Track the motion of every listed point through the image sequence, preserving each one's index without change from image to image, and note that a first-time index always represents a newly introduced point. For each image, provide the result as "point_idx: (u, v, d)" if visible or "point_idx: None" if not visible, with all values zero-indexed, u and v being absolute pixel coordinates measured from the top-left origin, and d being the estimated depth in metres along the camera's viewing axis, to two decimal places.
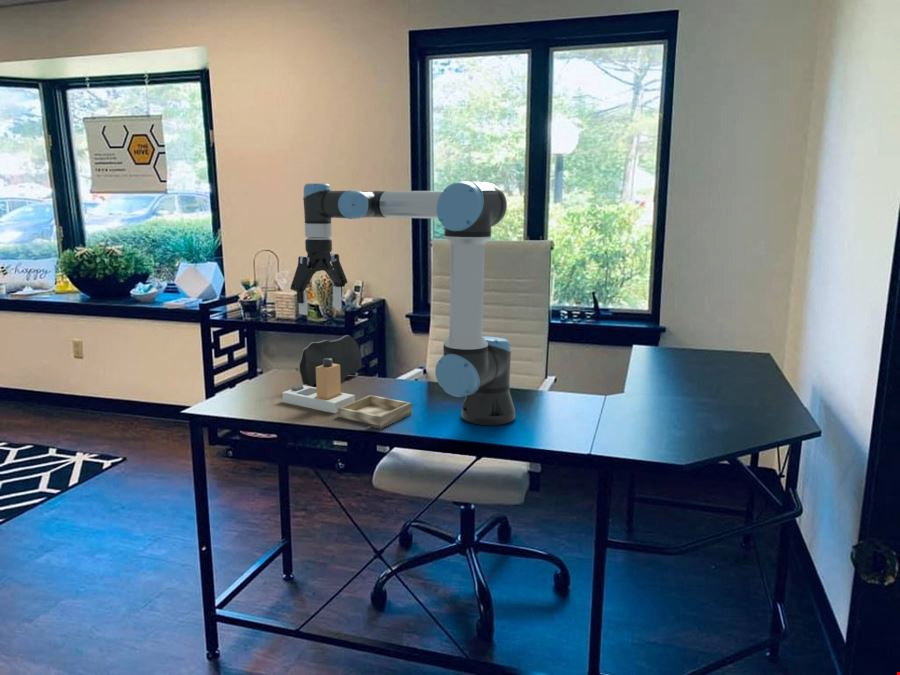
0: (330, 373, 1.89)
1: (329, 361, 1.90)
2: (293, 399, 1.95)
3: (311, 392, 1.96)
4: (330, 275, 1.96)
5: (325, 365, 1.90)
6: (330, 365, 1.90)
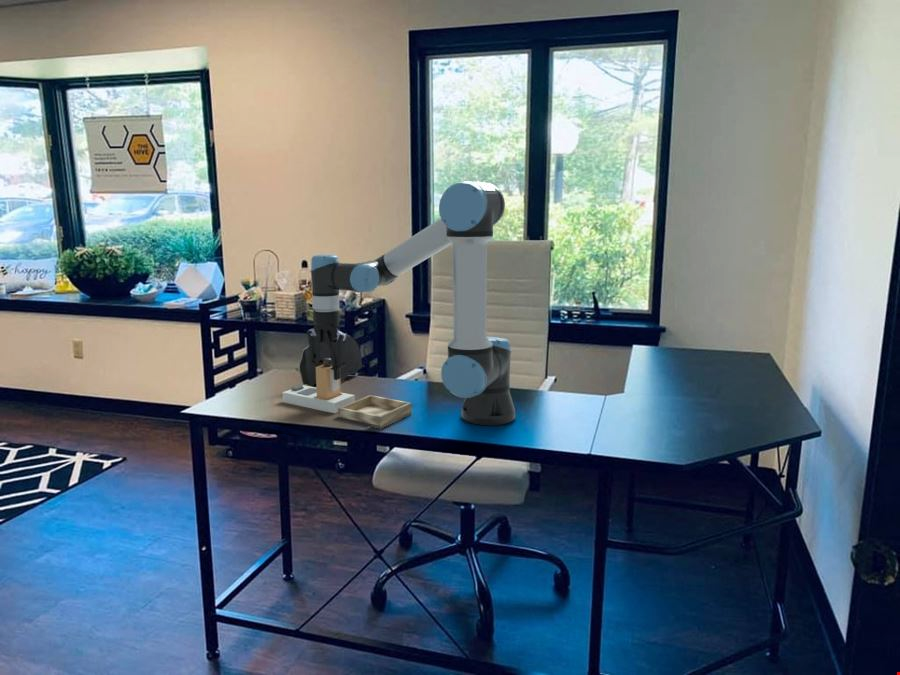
0: None
1: (329, 361, 1.90)
2: (293, 399, 1.95)
3: (311, 392, 1.96)
4: None
5: (325, 365, 1.90)
6: (330, 365, 1.90)
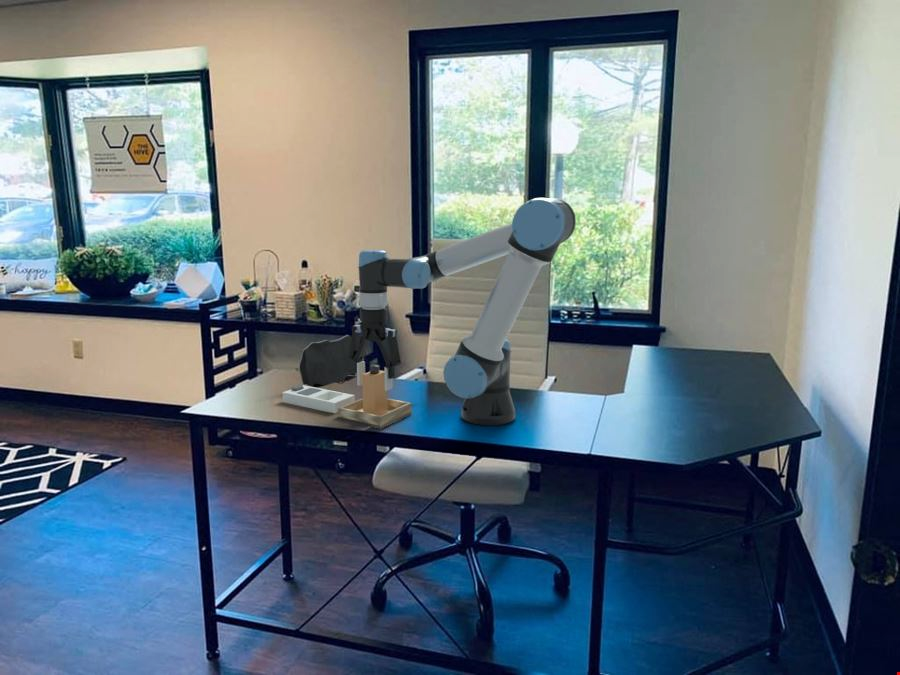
0: (377, 380, 1.82)
1: (376, 368, 1.83)
2: (293, 399, 1.95)
3: (311, 392, 1.96)
4: None
5: (372, 372, 1.83)
6: (377, 372, 1.83)
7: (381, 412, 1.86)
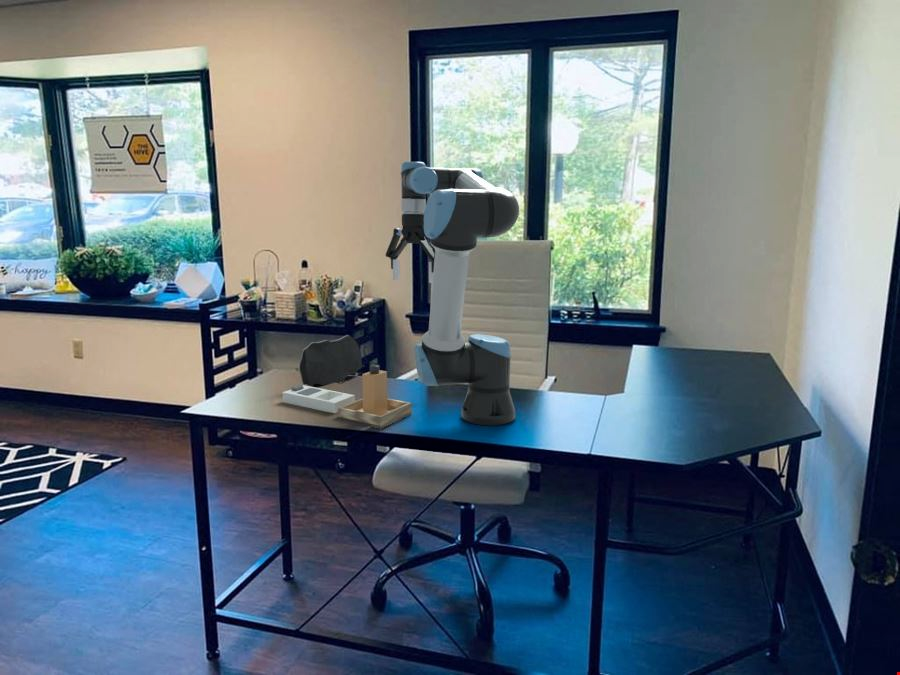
0: (377, 380, 1.82)
1: (376, 368, 1.83)
2: (293, 399, 1.95)
3: (311, 392, 1.96)
4: None
5: (372, 372, 1.83)
6: (377, 372, 1.83)
7: (381, 412, 1.86)
